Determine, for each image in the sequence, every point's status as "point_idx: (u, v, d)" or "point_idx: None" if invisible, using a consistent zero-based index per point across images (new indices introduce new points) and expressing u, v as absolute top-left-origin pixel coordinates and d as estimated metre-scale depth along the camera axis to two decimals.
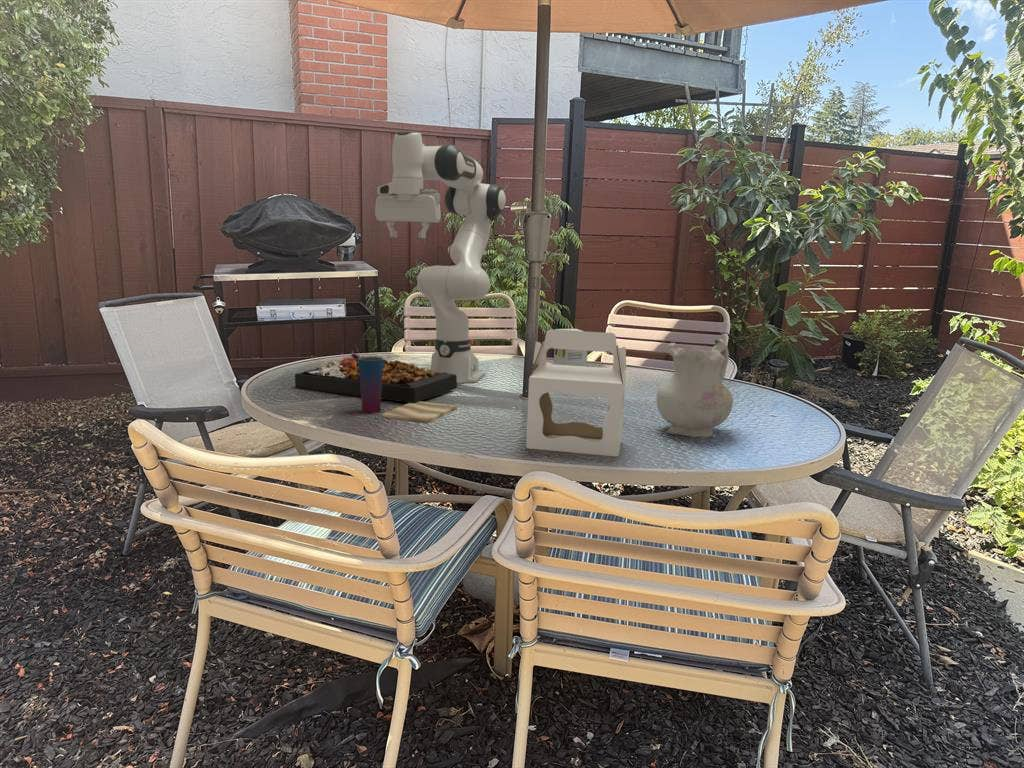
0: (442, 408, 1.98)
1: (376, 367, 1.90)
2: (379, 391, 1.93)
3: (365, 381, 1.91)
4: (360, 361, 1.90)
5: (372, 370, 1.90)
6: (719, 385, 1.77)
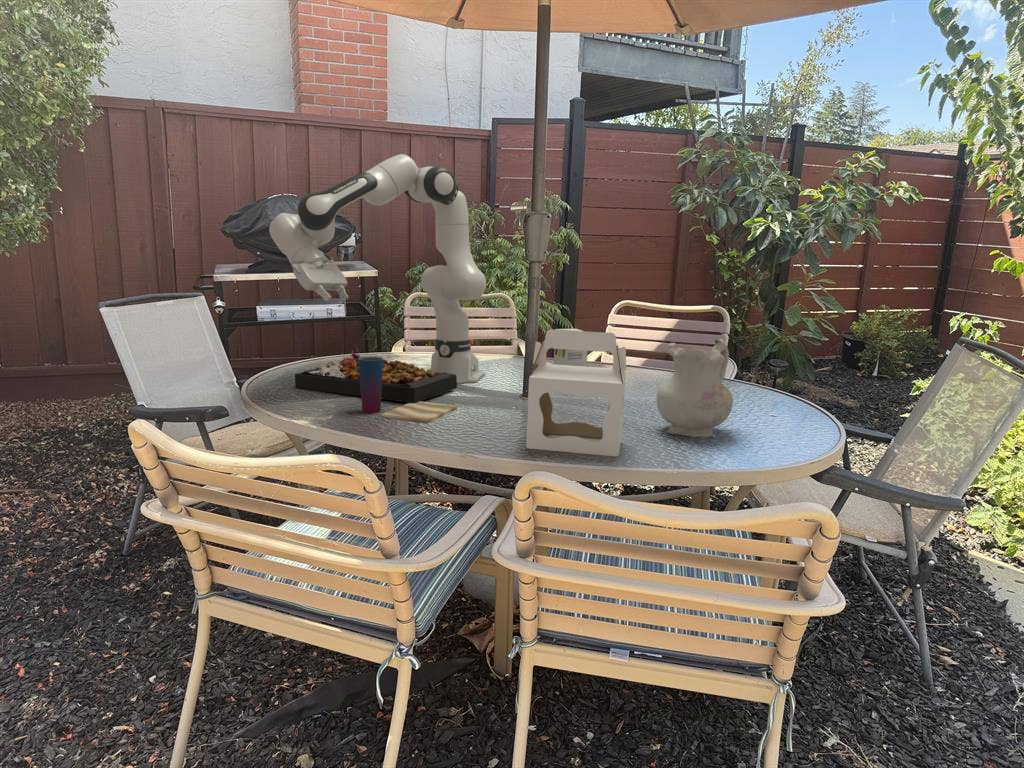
0: (442, 408, 1.98)
1: (376, 367, 1.90)
2: (379, 391, 1.93)
3: (365, 381, 1.91)
4: (360, 361, 1.90)
5: (372, 370, 1.90)
6: (719, 385, 1.77)
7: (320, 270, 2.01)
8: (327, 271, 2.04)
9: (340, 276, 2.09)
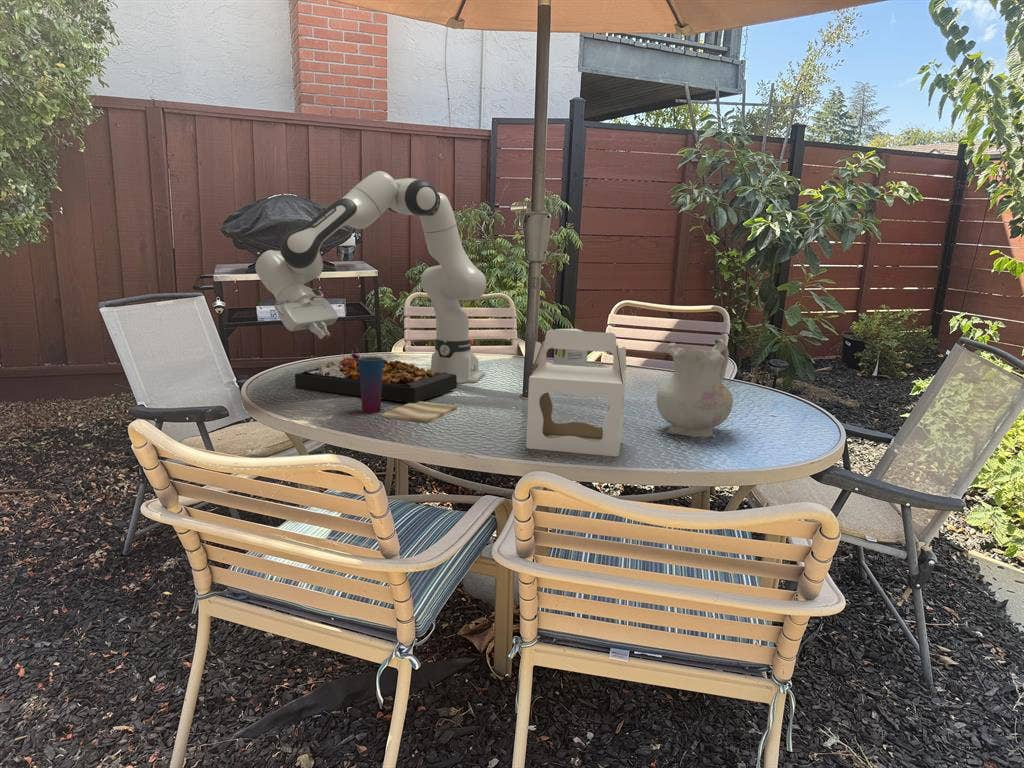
0: (442, 408, 1.98)
1: (376, 367, 1.90)
2: (379, 391, 1.93)
3: (365, 381, 1.91)
4: (360, 361, 1.90)
5: (372, 370, 1.90)
6: (719, 385, 1.77)
7: (307, 308, 1.97)
8: (315, 307, 2.00)
9: (330, 311, 2.04)
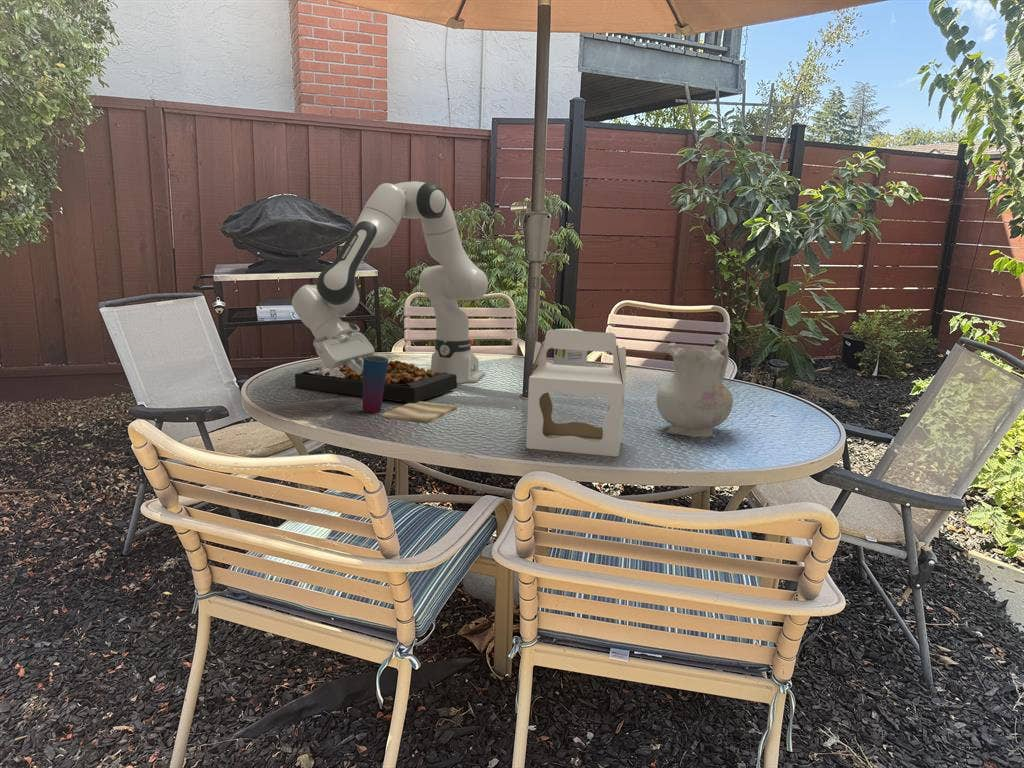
0: (442, 408, 1.98)
1: (380, 368, 1.90)
2: (381, 391, 1.93)
3: (368, 381, 1.91)
4: (365, 360, 1.90)
5: (377, 371, 1.90)
6: (719, 385, 1.77)
7: (344, 343, 1.94)
8: (352, 342, 1.97)
9: (367, 346, 2.01)
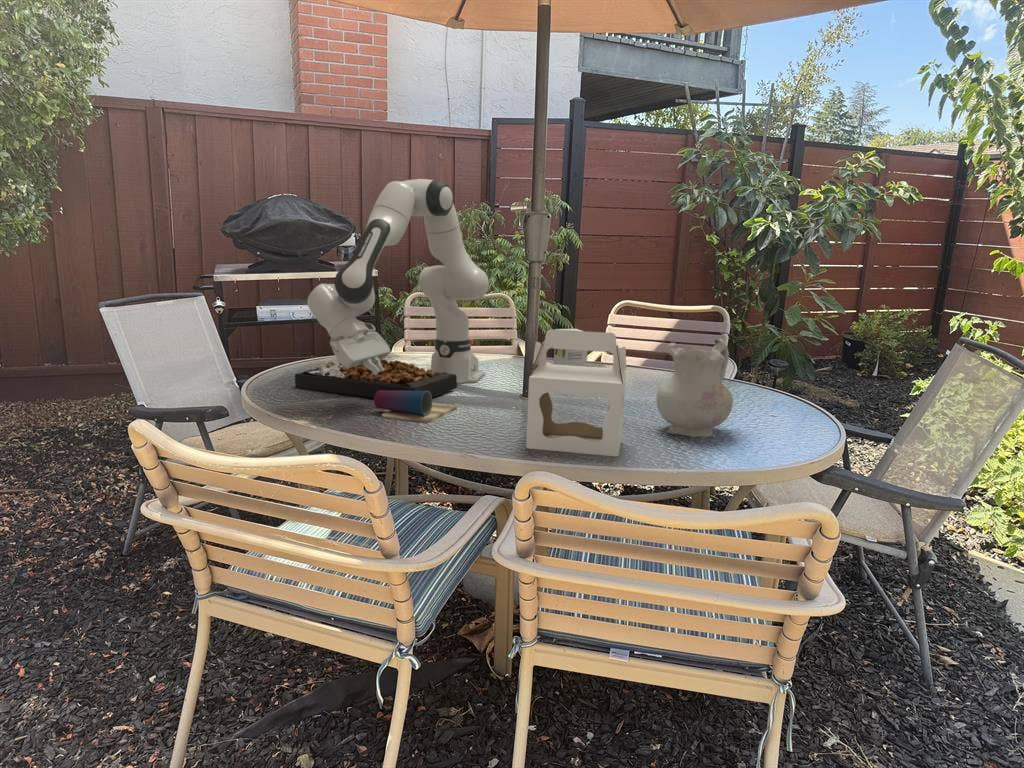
0: (442, 408, 1.98)
1: (417, 414, 1.88)
2: None
3: (401, 404, 1.88)
4: (419, 400, 1.86)
5: (413, 412, 1.88)
6: (719, 385, 1.77)
7: (361, 343, 1.92)
8: (368, 342, 1.95)
9: (383, 345, 1.99)
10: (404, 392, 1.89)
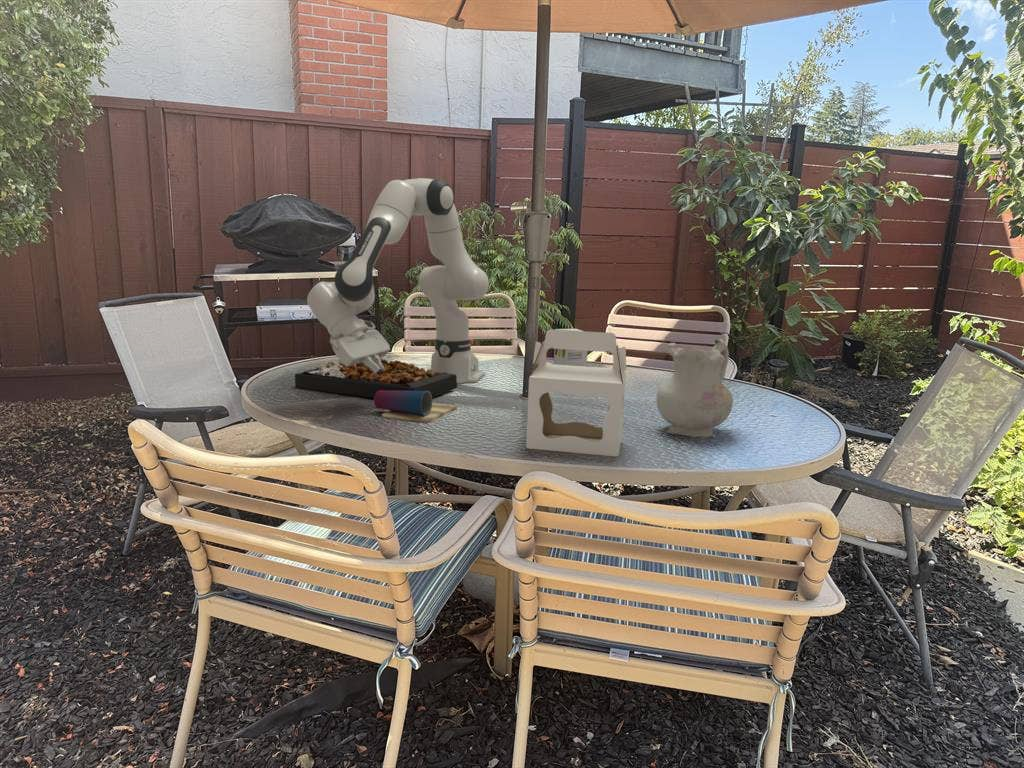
0: (442, 408, 1.98)
1: (417, 414, 1.88)
2: None
3: (401, 404, 1.88)
4: (419, 400, 1.86)
5: (413, 412, 1.88)
6: (719, 385, 1.77)
7: (360, 341, 1.92)
8: (368, 340, 1.95)
9: (383, 343, 1.99)
10: (404, 392, 1.89)
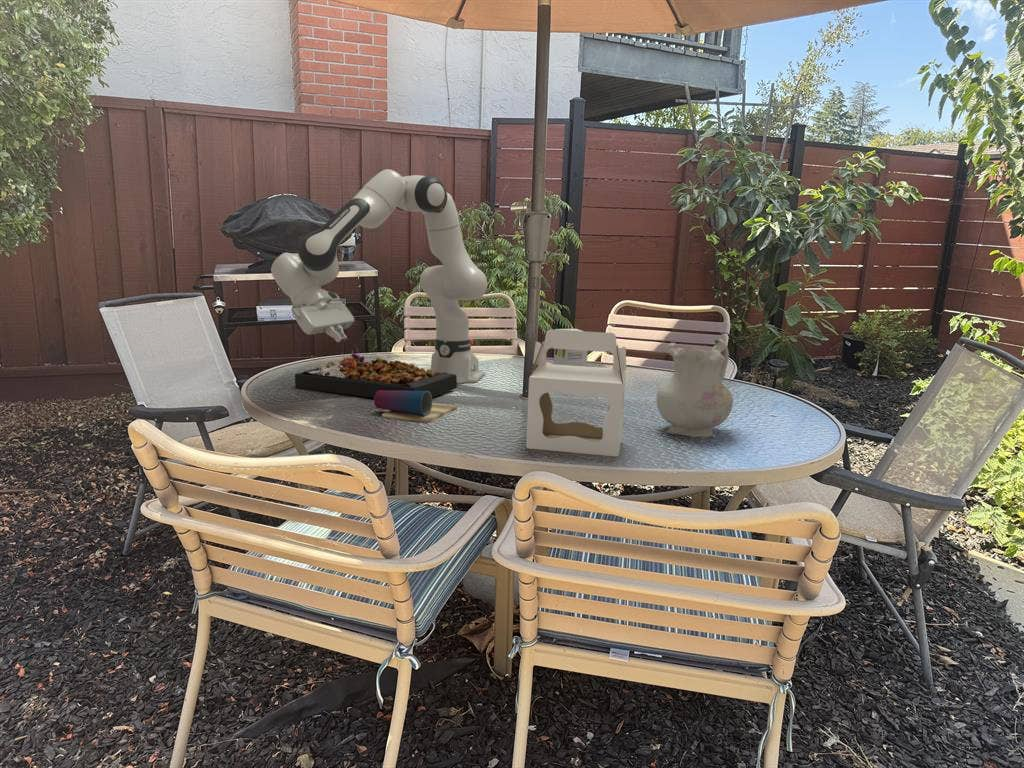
0: (442, 408, 1.98)
1: (417, 414, 1.88)
2: None
3: (401, 404, 1.88)
4: (419, 400, 1.86)
5: (413, 412, 1.88)
6: (719, 385, 1.77)
7: (323, 311, 1.95)
8: (331, 310, 1.98)
9: (347, 314, 2.02)
10: (404, 392, 1.89)
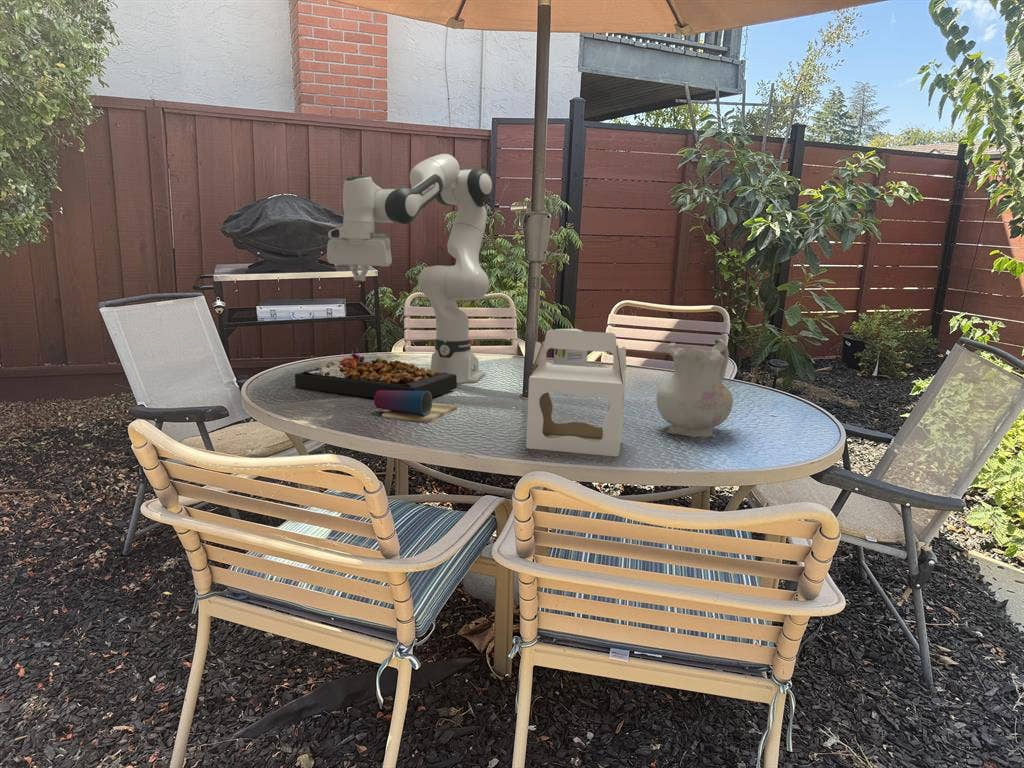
0: (442, 408, 1.98)
1: (417, 414, 1.88)
2: None
3: (401, 404, 1.88)
4: (419, 400, 1.86)
5: (413, 412, 1.88)
6: (719, 385, 1.77)
7: None
8: None
9: None
10: (404, 392, 1.89)
